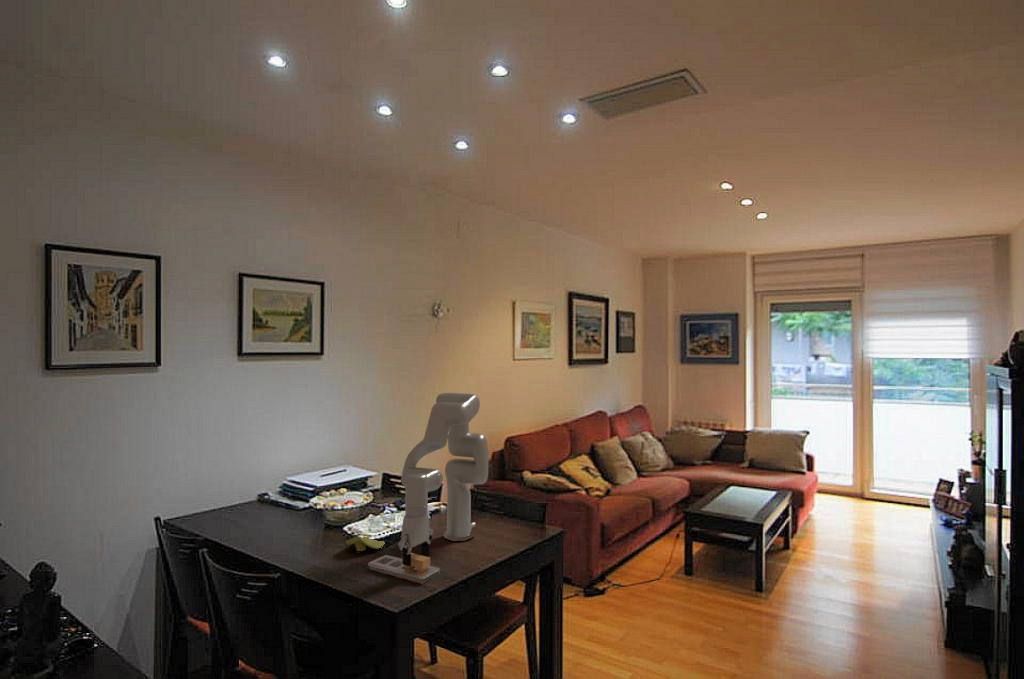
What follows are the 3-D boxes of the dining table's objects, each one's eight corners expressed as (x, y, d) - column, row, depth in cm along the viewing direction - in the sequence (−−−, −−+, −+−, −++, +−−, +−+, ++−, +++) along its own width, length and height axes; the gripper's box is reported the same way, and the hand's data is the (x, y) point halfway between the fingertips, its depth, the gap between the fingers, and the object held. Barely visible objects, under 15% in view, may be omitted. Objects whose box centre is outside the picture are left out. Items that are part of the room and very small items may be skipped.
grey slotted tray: (385, 561, 217) (385, 554, 217) (439, 575, 205) (439, 568, 205) (368, 569, 209) (368, 562, 209) (422, 584, 197) (422, 577, 197)
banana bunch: (372, 531, 243) (391, 523, 240) (378, 549, 241) (397, 541, 238) (340, 543, 225) (360, 534, 222) (346, 562, 223) (366, 554, 220)
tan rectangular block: (409, 571, 208) (409, 552, 208) (430, 576, 204) (430, 557, 204) (401, 575, 205) (402, 556, 205) (422, 580, 200) (422, 561, 200)
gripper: (423, 502, 214) (423, 550, 214) (390, 515, 199) (390, 566, 199) (440, 505, 210) (440, 554, 210) (408, 518, 195) (408, 571, 195)
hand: (416, 560), depth 204 cm, fingers open, 9 cm apart
